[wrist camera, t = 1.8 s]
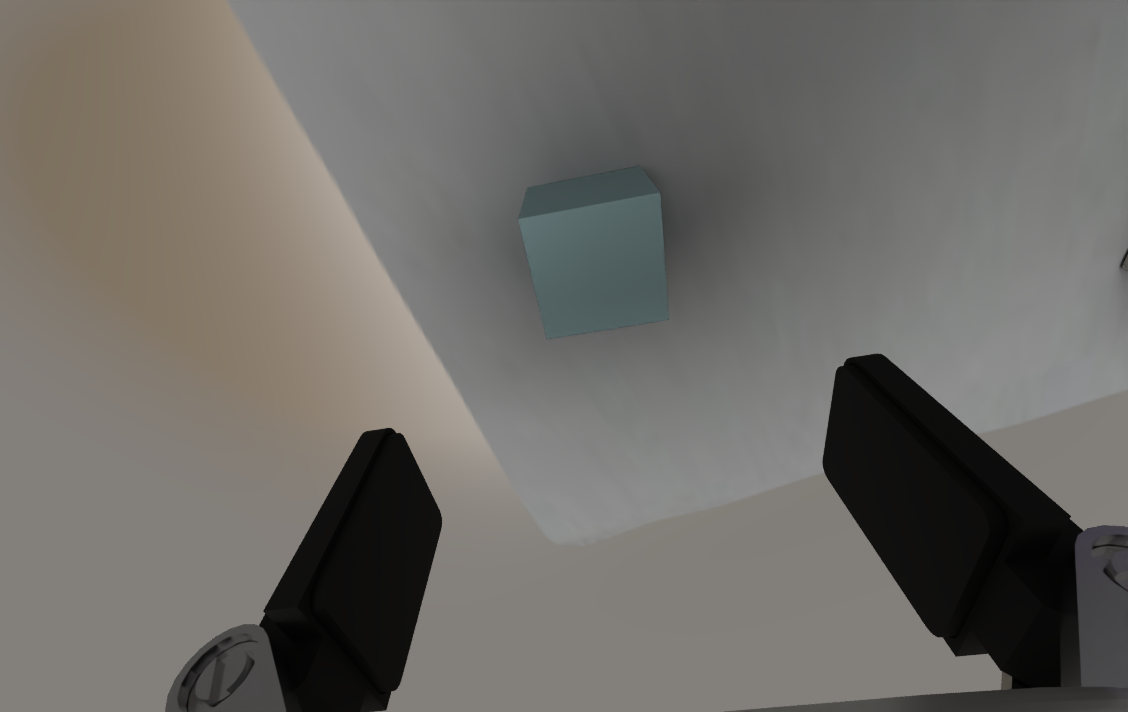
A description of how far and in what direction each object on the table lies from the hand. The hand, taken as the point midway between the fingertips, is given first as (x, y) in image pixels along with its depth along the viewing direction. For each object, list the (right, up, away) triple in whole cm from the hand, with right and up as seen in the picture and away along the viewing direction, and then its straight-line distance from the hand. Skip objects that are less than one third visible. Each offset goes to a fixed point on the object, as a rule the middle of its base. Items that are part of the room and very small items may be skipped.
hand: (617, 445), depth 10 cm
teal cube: (0, +8, +11) cm, 14 cm away
